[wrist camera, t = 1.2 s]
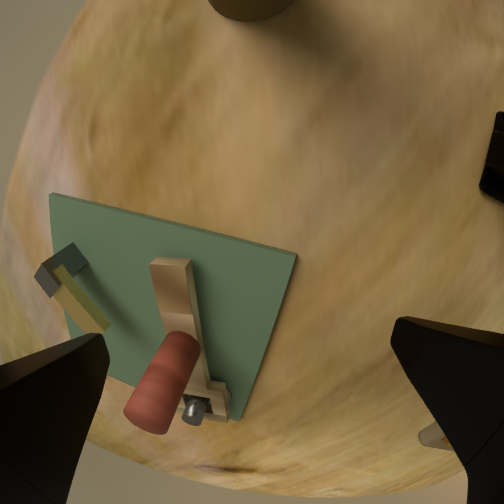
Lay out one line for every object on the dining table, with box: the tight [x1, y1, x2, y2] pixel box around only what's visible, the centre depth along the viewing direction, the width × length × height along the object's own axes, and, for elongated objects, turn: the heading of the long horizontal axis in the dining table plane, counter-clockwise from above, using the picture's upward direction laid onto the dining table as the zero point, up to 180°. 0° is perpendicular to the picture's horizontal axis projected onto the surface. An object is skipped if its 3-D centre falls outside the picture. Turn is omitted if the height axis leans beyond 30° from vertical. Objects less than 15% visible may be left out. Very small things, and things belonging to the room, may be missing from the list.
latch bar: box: [123, 257, 230, 435], centre depth 21 cm, size 19×6×9 cm, turn 1°
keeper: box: [34, 242, 112, 334], centre depth 22 cm, size 8×3×5 cm, turn 37°
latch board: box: [49, 193, 296, 421], centre depth 26 cm, size 22×22×1 cm
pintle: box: [182, 375, 232, 426], centre depth 26 cm, size 6×6×5 cm
